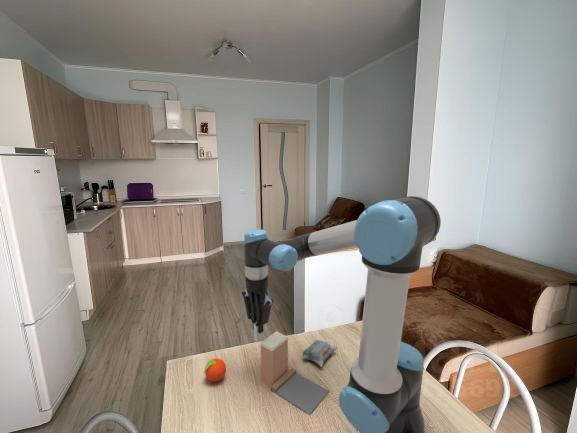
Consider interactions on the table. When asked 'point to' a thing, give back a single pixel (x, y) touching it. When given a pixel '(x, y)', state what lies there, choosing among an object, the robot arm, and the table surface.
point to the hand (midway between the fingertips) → (258, 339)
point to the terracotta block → (274, 358)
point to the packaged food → (318, 352)
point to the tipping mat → (299, 391)
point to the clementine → (215, 369)
